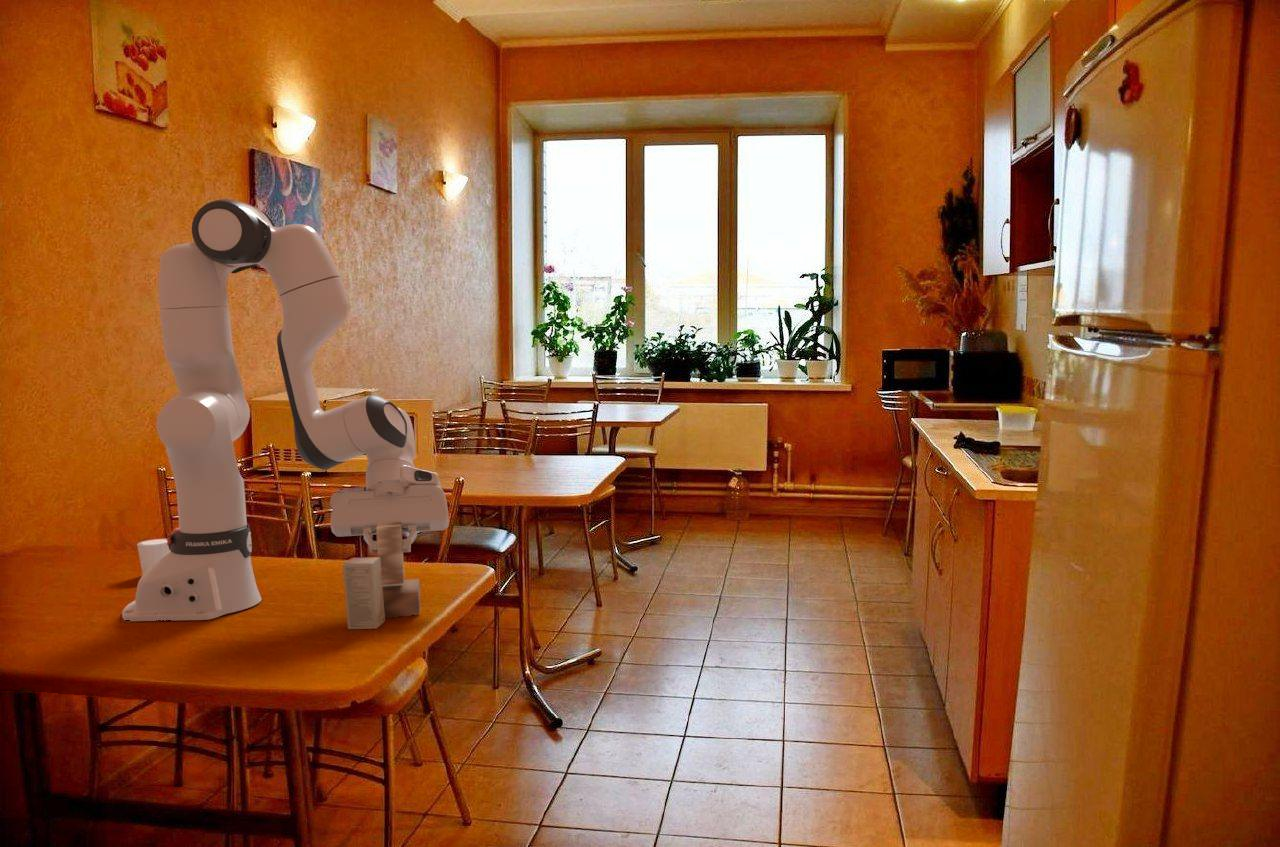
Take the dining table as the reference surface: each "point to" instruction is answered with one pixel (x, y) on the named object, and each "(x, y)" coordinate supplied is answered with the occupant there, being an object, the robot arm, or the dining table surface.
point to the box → (364, 593)
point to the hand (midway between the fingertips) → (390, 551)
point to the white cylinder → (152, 552)
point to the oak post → (390, 552)
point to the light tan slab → (402, 598)
